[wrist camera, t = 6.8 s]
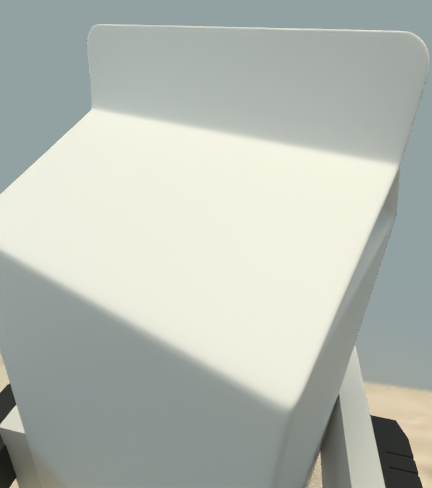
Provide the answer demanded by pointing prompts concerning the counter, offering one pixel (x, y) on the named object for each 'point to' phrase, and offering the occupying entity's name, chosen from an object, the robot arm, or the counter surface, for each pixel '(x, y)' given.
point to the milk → (203, 252)
